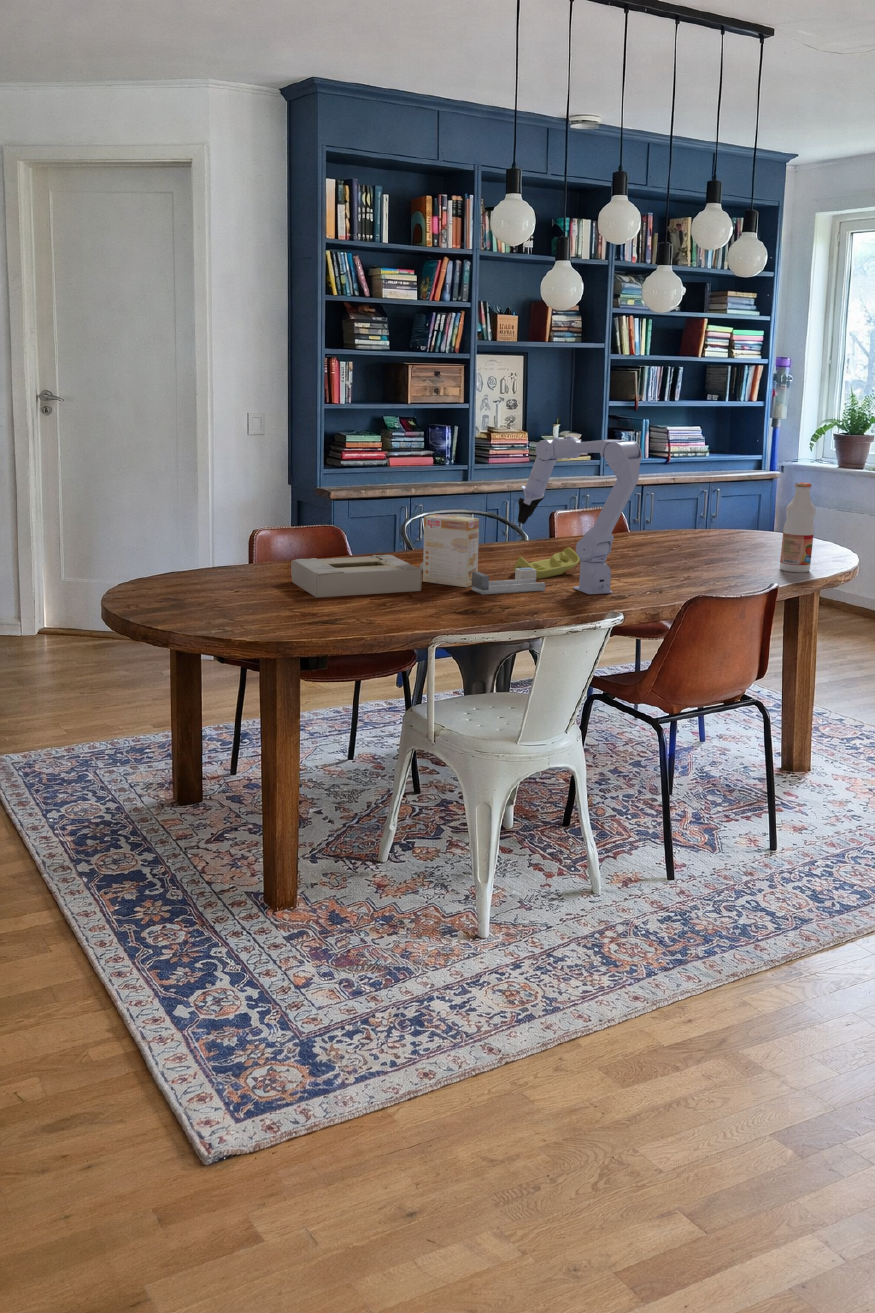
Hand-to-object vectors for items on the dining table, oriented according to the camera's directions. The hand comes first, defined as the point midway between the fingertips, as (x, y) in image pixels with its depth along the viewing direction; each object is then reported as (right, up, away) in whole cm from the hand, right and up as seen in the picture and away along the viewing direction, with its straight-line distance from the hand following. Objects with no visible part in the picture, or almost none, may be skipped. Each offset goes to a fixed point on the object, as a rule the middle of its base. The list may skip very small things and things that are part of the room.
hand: (524, 518), depth 352 cm
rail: (-6, -22, -14) cm, 27 cm away
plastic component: (+8, -16, +12) cm, 22 cm away
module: (0, -20, -4) cm, 20 cm away
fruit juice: (+89, -13, +28) cm, 94 cm away
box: (-49, -22, -13) cm, 56 cm away
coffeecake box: (-22, -20, -6) cm, 30 cm away
